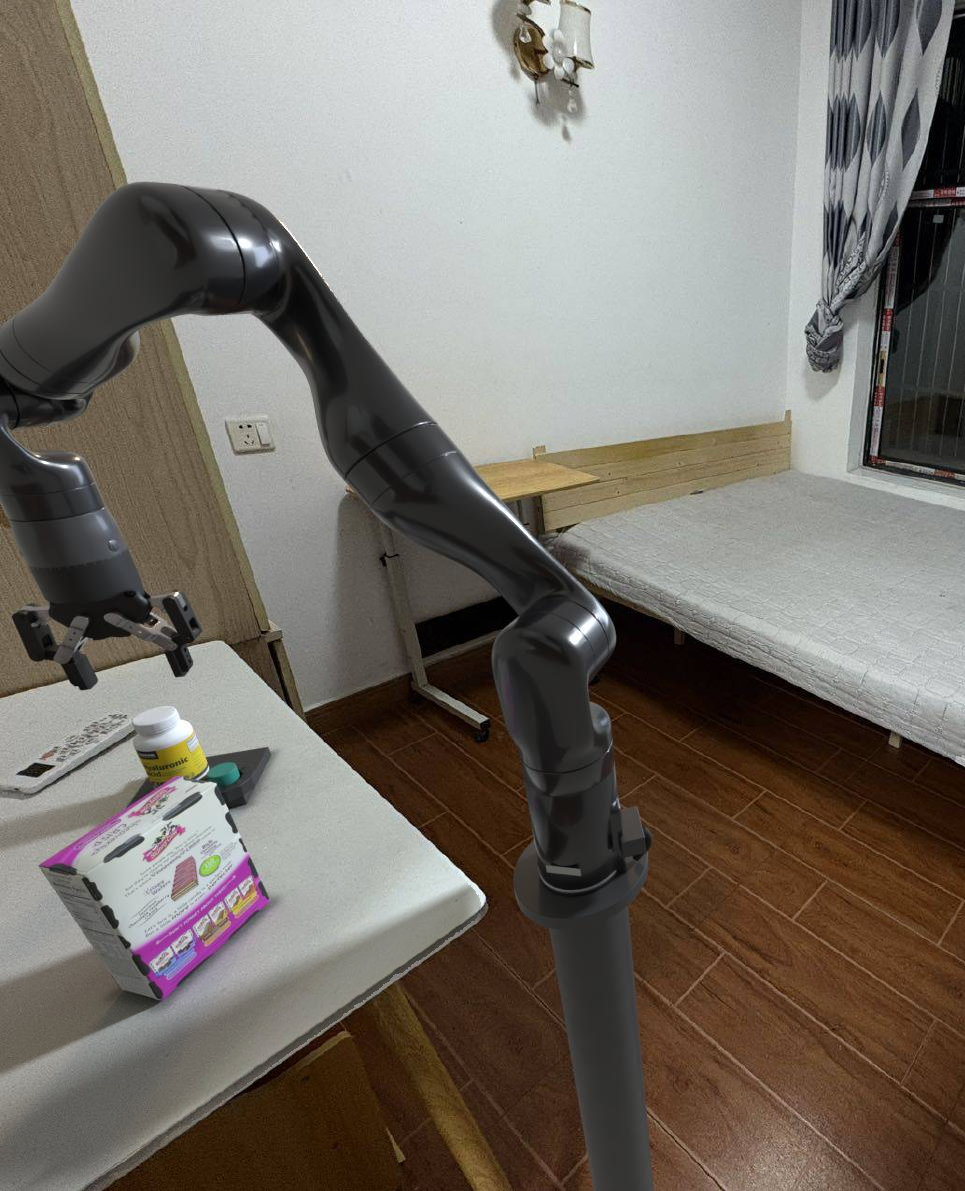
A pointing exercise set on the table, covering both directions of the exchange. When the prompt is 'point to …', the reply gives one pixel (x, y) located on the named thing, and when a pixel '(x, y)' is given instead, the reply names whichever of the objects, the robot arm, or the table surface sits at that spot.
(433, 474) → the robot arm
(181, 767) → the supplement bottle
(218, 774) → the button
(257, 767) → the scale
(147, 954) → the candy bar box
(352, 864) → the table surface
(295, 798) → the table surface
